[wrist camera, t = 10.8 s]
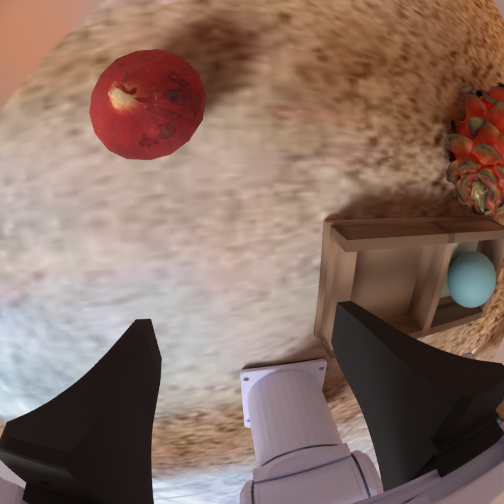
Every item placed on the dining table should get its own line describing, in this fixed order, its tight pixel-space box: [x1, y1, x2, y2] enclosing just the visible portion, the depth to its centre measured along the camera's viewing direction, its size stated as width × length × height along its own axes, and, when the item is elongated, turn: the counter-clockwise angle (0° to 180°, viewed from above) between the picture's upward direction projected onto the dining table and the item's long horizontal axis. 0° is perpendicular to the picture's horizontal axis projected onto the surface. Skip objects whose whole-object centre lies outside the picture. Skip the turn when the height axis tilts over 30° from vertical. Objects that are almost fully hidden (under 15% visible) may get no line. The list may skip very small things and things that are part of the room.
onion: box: [90, 49, 206, 160], centre depth 12 cm, size 6×6×8 cm
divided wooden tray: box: [314, 216, 504, 358], centre depth 22 cm, size 10×19×3 cm, turn 92°
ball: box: [447, 251, 496, 308], centre depth 21 cm, size 5×5×5 cm
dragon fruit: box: [444, 82, 504, 217], centre depth 16 cm, size 8×8×12 cm
